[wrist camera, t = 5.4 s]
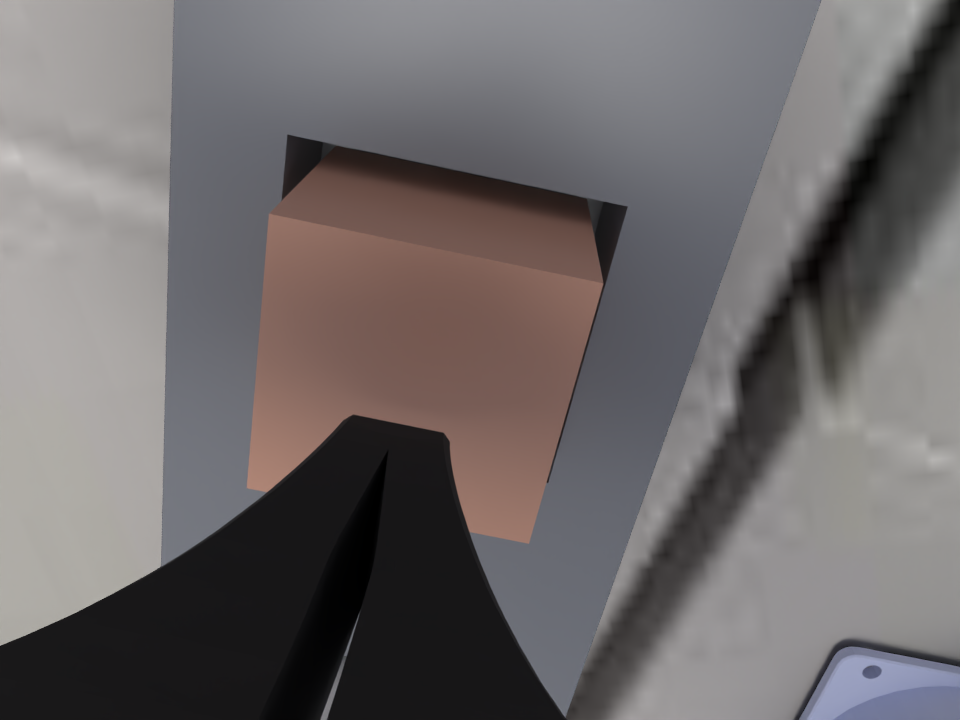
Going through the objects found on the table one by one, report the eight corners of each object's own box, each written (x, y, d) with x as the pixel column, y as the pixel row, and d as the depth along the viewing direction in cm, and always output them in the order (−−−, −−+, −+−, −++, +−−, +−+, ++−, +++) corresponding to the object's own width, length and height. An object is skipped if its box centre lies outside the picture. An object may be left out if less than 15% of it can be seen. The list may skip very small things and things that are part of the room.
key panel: (763, -26, 16) (827, -17, 13) (495, 804, 28) (489, 929, 24) (258, -139, 16) (177, -162, 12) (203, 749, 28) (154, 869, 24)
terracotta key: (586, 199, 16) (604, 284, 12) (530, 413, 18) (529, 543, 14) (335, 145, 16) (269, 213, 12) (309, 368, 18) (246, 488, 14)
